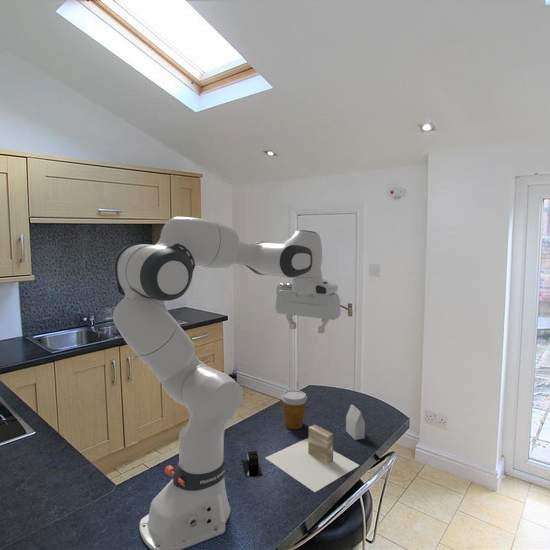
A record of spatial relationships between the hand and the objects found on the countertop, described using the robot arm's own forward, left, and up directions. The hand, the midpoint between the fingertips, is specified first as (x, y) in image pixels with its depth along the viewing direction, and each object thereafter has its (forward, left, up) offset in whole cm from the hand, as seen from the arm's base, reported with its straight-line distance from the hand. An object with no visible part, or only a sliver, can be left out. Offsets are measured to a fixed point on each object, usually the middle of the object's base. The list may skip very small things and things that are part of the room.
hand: (306, 330), depth 122 cm
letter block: (+6, -1, -42) cm, 43 cm away
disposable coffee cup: (+14, +20, -43) cm, 49 cm away
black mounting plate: (-14, +9, -43) cm, 46 cm away
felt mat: (+2, -1, -42) cm, 42 cm away
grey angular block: (+26, +1, -43) cm, 50 cm away
